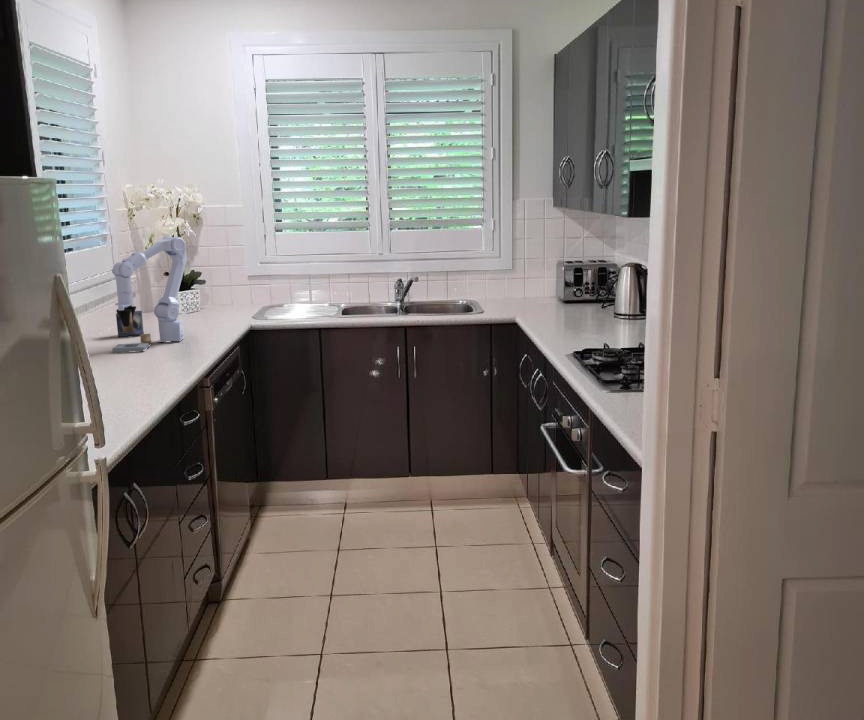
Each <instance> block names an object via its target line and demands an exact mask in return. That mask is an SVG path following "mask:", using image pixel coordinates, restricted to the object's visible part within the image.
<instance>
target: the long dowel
mask: <svg viewBox="0 0 864 720" xmlns="http://www.w3.org/2000/svg"><path fill="white" fill-rule="evenodd" d="M122 326H123V324H122ZM123 332H125V333H127V332H133V321H132V312H131V314H130V324H129V327H124V326H123Z"/></svg>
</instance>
